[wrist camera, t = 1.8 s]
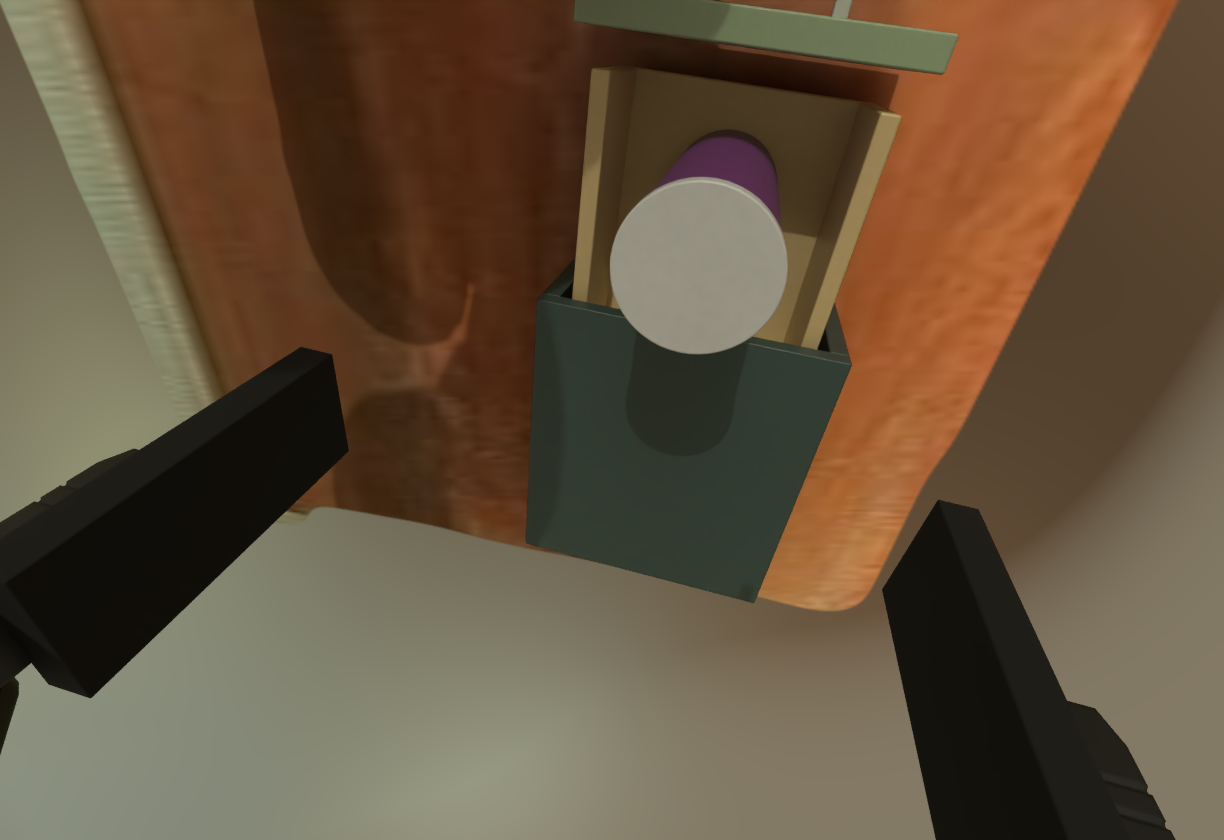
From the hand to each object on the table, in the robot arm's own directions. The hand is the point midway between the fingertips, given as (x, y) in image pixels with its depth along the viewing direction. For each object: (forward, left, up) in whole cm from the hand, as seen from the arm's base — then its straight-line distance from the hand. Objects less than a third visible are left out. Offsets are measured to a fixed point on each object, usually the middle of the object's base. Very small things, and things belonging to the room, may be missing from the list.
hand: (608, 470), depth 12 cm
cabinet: (+11, +1, -24) cm, 26 cm away
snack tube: (-2, +1, -21) cm, 22 cm away
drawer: (-4, +1, -23) cm, 23 cm away
